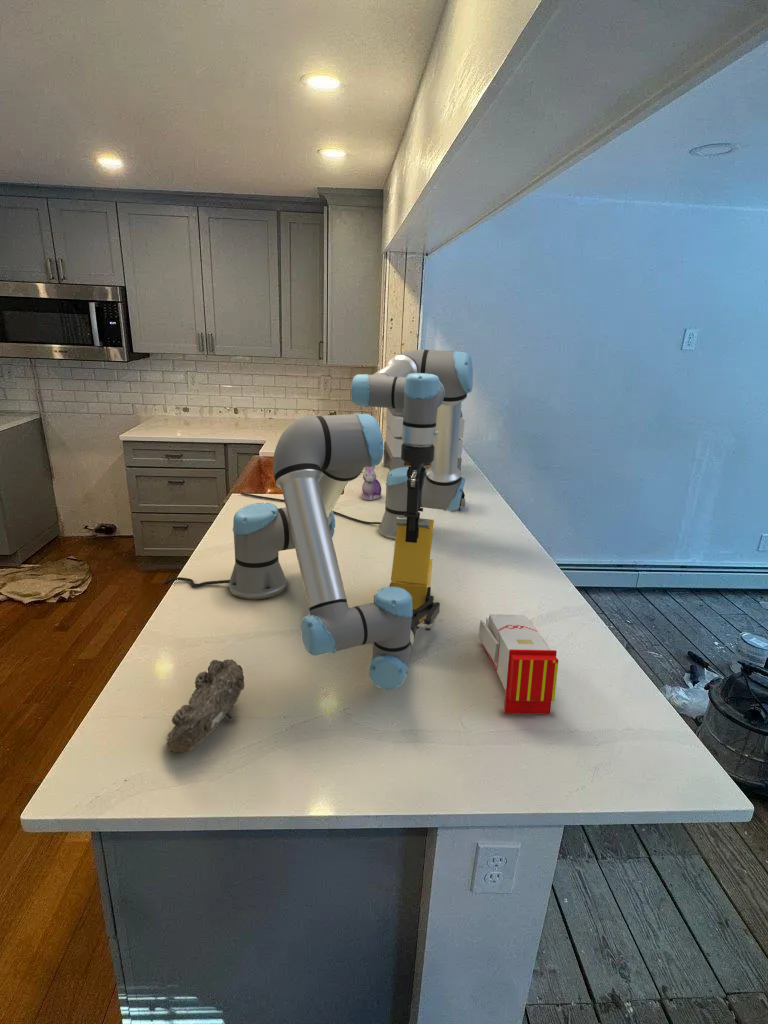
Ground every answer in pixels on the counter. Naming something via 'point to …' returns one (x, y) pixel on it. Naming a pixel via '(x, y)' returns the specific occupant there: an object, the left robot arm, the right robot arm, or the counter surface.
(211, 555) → the counter surface
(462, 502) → the figurine character
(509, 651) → the toy
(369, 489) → the figurine
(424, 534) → the yellow block with rod
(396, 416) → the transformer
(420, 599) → the yellow open-ended box
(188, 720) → the fossil
